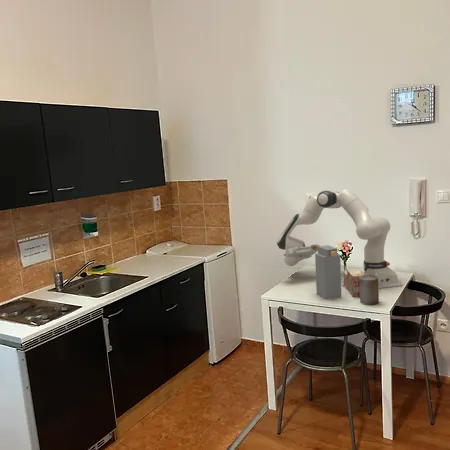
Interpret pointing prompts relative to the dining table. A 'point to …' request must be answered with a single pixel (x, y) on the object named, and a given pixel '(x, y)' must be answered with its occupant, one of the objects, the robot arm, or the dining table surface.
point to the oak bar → (331, 253)
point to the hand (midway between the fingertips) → (305, 247)
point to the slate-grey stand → (328, 273)
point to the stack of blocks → (352, 282)
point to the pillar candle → (369, 289)
